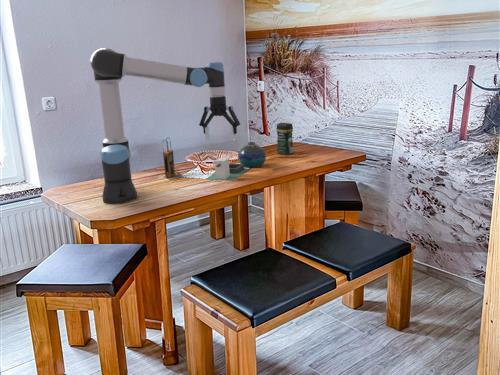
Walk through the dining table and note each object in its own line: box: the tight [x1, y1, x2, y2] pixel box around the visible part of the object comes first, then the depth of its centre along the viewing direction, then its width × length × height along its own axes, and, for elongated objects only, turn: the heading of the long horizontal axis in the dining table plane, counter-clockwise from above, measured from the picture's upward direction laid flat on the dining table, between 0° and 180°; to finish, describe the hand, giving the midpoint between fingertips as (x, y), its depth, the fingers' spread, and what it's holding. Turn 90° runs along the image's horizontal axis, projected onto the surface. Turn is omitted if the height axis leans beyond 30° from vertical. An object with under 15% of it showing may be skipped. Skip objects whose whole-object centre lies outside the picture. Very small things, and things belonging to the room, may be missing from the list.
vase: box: [237, 141, 267, 169], centre depth 260 cm, size 15×15×13 cm
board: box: [205, 163, 250, 182], centre depth 243 cm, size 24×15×4 cm, turn 161°
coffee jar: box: [276, 122, 294, 155], centre depth 288 cm, size 10×8×19 cm
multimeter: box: [162, 137, 185, 181], centre depth 247 cm, size 15×10×20 cm
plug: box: [214, 157, 230, 179], centre depth 235 cm, size 9×5×9 cm, turn 161°
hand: (220, 140), depth 232 cm, fingers open, 13 cm apart
